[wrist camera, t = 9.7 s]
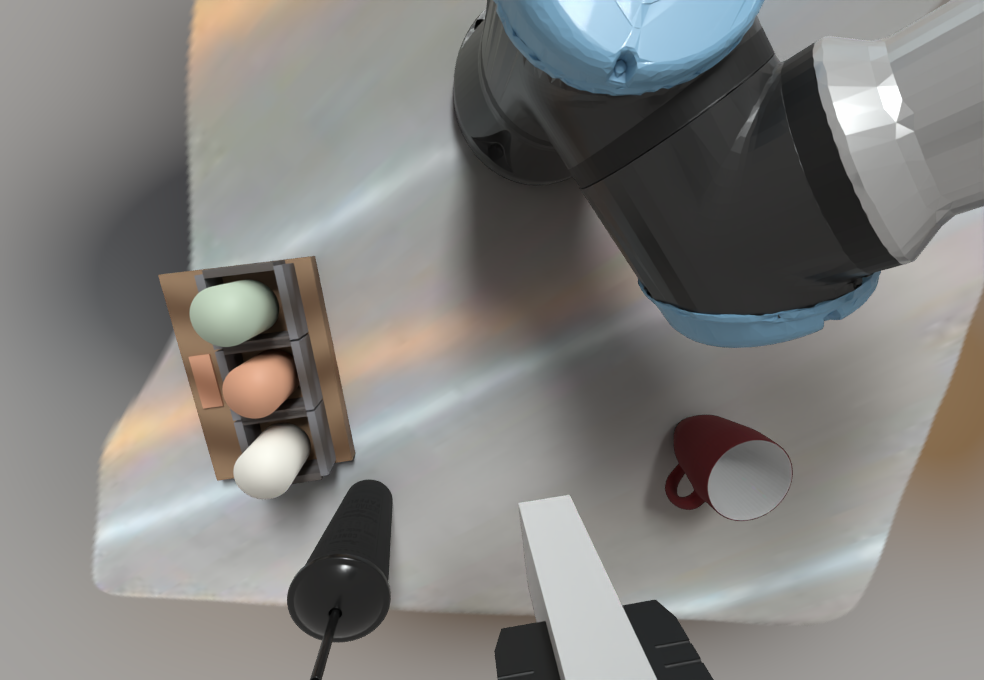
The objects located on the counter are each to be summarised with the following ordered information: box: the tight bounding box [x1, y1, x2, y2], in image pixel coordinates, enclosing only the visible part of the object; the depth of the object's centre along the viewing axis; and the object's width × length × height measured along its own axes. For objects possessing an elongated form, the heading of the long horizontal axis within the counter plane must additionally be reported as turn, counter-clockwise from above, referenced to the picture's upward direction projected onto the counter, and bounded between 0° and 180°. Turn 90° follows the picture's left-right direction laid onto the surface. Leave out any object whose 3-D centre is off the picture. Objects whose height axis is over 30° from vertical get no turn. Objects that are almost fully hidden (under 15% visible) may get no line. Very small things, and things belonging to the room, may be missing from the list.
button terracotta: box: [222, 349, 300, 419], centre depth 39 cm, size 5×5×5 cm
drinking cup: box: [287, 480, 392, 680], centre depth 38 cm, size 8×8×20 cm
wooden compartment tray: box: [158, 256, 355, 484], centre depth 41 cm, size 20×13×4 cm, turn 7°
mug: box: [665, 415, 793, 521], centre depth 45 cm, size 11×8×10 cm
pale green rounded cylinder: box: [190, 280, 279, 347], centre depth 36 cm, size 5×5×5 cm
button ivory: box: [233, 423, 311, 499], centre depth 39 cm, size 5×5×5 cm
